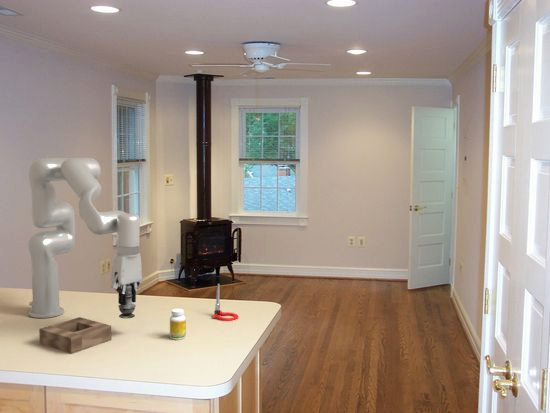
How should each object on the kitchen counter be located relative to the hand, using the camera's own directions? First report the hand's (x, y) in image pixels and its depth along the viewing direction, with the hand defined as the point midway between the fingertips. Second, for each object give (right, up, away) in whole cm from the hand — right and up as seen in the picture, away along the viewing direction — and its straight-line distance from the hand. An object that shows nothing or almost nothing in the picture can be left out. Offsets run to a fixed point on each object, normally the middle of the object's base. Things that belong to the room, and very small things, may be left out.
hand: (127, 302), depth 205 cm
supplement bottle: (+17, -12, -1) cm, 21 cm away
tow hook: (+32, -10, +23) cm, 41 cm away
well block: (-15, -12, -7) cm, 21 cm away
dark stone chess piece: (0, -5, +1) cm, 5 cm away
